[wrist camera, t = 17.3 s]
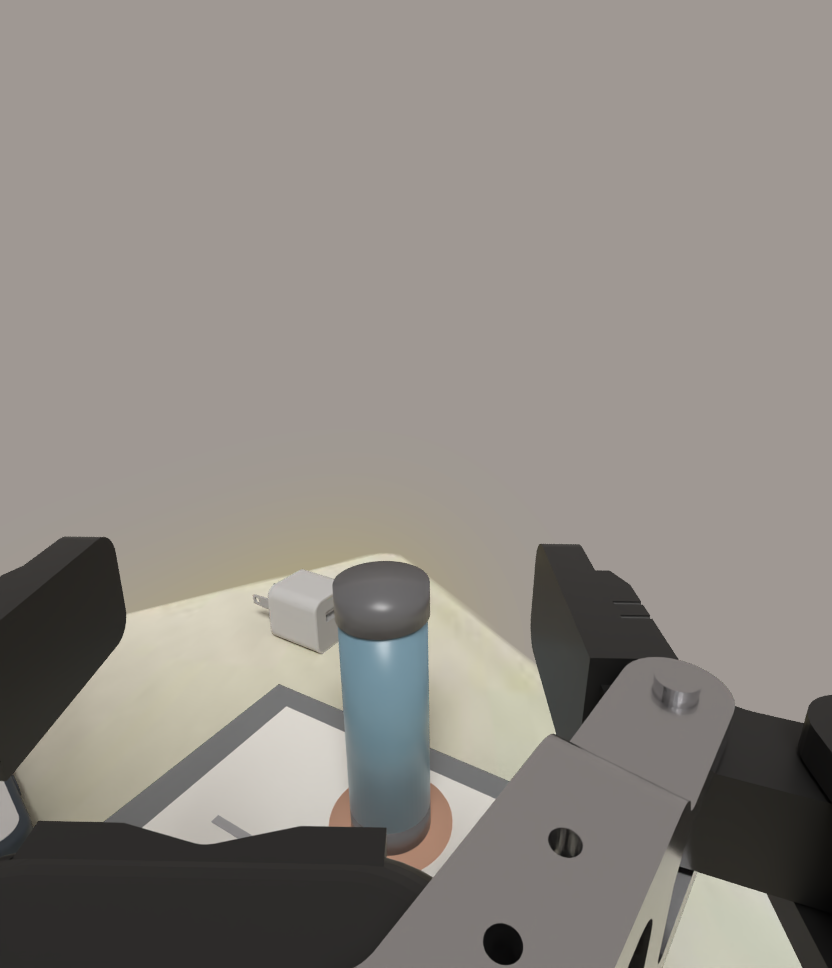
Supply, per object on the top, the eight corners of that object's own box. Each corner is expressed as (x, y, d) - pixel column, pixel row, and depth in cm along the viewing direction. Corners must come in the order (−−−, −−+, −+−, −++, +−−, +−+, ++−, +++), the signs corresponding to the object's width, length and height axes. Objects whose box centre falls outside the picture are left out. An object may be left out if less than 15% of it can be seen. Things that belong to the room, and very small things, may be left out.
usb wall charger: (318, 657, 41) (314, 604, 39) (246, 628, 44) (240, 579, 43) (355, 629, 44) (352, 580, 43) (285, 604, 47) (280, 558, 46)
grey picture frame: (52, 870, 26) (49, 858, 26) (279, 689, 37) (278, 680, 37) (440, 1191, 17) (440, 1177, 16) (585, 820, 28) (586, 809, 28)
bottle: (331, 832, 27) (311, 590, 23) (380, 776, 30) (369, 554, 26) (403, 873, 25) (394, 616, 21) (447, 808, 28) (446, 573, 24)
